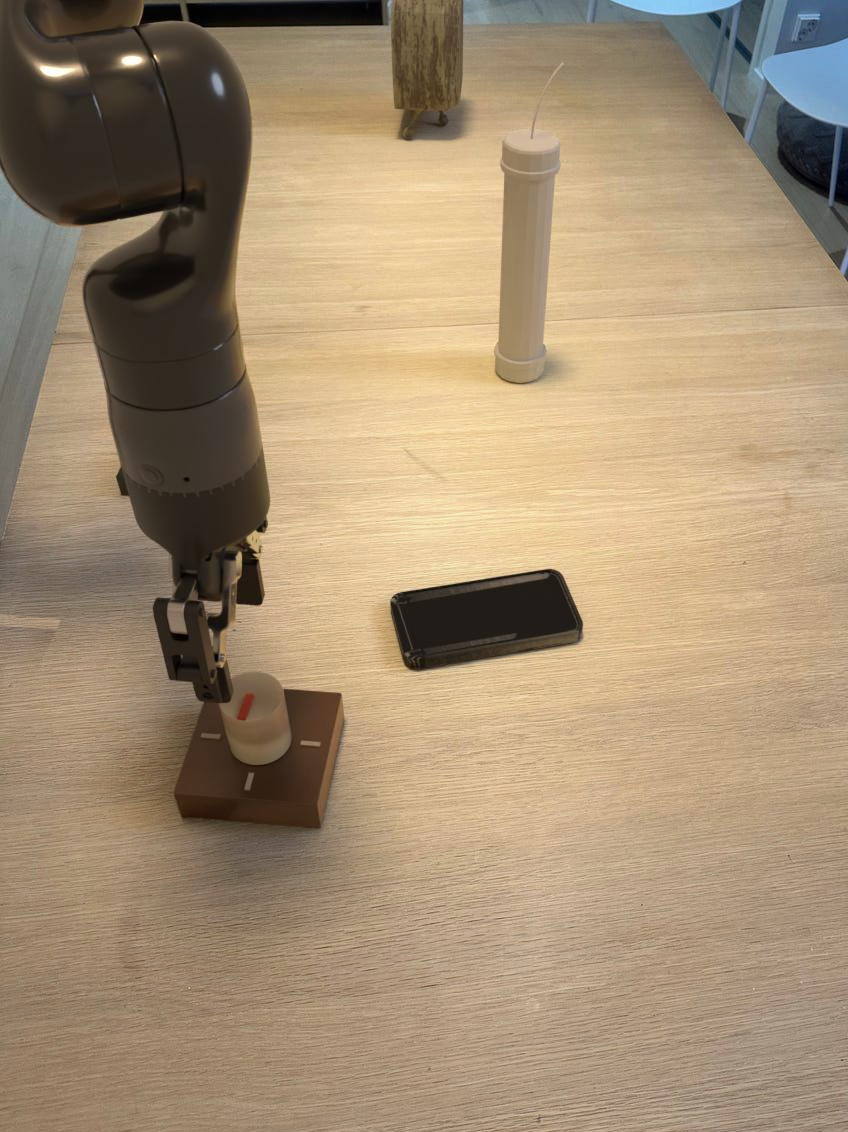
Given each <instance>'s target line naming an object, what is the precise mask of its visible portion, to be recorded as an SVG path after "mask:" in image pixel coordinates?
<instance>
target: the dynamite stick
mask: <svg viewBox="0 0 848 1132" xmlns="http://www.w3.org/2000/svg"><path fill="white" fill-rule="evenodd" d="M564 65H565V62H564V61H561V63H560V64H559V65H558V66H557V67H556V69H555V70H554V72H552V74H551V76H550V77H549V79H548V81H547V82H546V84H545V86H544V88H543V89H542V92H541V95H540V97H539V99H538V102H537V105H536V108H535V112H534V116H533V119H532V124H531V127H530V128H520V129H515V130H512V131H510V132H508V133H506V134H505V136H504V137H503V139H502V145H501V146H502V147H501V158H500V160H499V161H500V162H499V167H500V170H501V171H502V172H503V173H504V174H503V178H504V179H503V199H502V201H503V202H502V204H503V205H502V228H501V229H502V230H501V231H502V232H501V256H500V259H501V260H500V286H499V311H498V312H499V313H498V341H497V342H496V344H495V346H494V347H493V353H494V357H495V358H494V368H495V372H496V374H497V375H498V376H499V377H500V378H501V379H503V380H506V381H507V382H510V383H518V384H522V383H524V384H525V383H530V382H533V381H536V380H538V379H539V378H540V377H541V376H542V375H543V372H544V370H545V362H546V361H545V360H546V357H547V353H548V352H547V348H546V345H545V344H544V337H545V323H546V312H547V311H546V309H547V296H548V281H549V267H550V251H551V239H552V226H553V223H552V222H553V212H554V197H555V196H554V195H555V183H556V182H555V181H556V175H557V174H559V171H560V169H561V160H560V155H561V142H560V139H559V136H557V134H556V135H555V133H553V132H551V131H548V130H544V129H540V128H535V126H536V120H537V116H538V112H539V110H540V106H541V103H542V100H543V98H544V96H545V93H546V91H547V89H548V87H549V85H550V83H551V82H552V81H553V79H554V77H555V76H556V74H557V73H558V72H559V71H560V69H561V68H562V67H563V66H564Z"/></svg>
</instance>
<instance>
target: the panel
mask: <svg viewBox="0 0 848 1132" xmlns="http://www.w3.org/2000/svg"><path fill="white" fill-rule="evenodd" d="M283 691H284V696H285V701H286V707H287V712H288V718H289V723H290V729H291V735H292V740H291V744H290V746H289V748H288V750H287V751H286V753H285V754H284V755H283V756H281V757H280V758H279V759H277V760H275V761H273V762H271V763H268V764H263V765H250V764H246V763H244V762H241V761H240V760H238V759H237V758H236V757H235V756H234V755H233V754H232V752H231V750H230V746H229V742H228V738H227V734H226V731H225V727H224V723H223V719H222V715H221V711H220V707H219V703H212V702H202V706H201V709H200V712H199V715H198V717H197V722H196V724H195V726H194V730H193V733H192V736H191V739H190V741H189V745H188V748H187V751H186V754H185V756H184V760H183V763H182V766H181V769H180V772H179V775H178V778H177V781H176V784H175V787H174V790H173V793H172V794H173V797H174V800H175V802H176V804H177V805H176V806H177V808H178V811H179V814H180V817H181V818H187V817H188V818H189V819H199V818H202V819H201V820H212V819H214V821H224V820H225V821H224V822H226V821H227V822H237V823H249V822H250V824H251V823H252V824H263V825H264V824H265V825H274V824H275V826H287V825H288V826H287V827H299V826H301V828H312V829H313V828H314V829H321V828H322V825H323V820H324V817H325V812H326V808H327V807H326V806H327V802H328V798H329V793H330V788H331V783H332V778H333V775H334V769H335V764H336V760H337V755H338V751H339V746H340V740H341V736H342V732H343V728H344V723H343V722H345V710H344V709H345V708H344V701H343V694H342V692H334V691H333V692H332V691H320V690H308V689H307V690H306V689H295V688H283ZM238 821H240V822H238ZM276 824H277V825H276Z"/></svg>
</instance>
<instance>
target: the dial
mask: <svg viewBox="0 0 848 1132" xmlns="http://www.w3.org/2000/svg"><path fill="white" fill-rule="evenodd" d="M231 681H232V685H233V690H234V692H233V695H232V698H231V701H230V702H229V703H219V707H220V711H221V715H222V719H223V723H224V727H225V731H226V734H227V738H228V742H229V746H230V750H231V752H232V754H233V755H234V756H235V757H236V758H237V759H238V760H240V761H241V762H244V763H246V764H250V765H263V764H268V763H271V762H273V761H275V760H277V759H279V758H280V757H281V756H283V755H284V754H285V753H286V751H287V750H288V748H289V746H290V744H291V740H292V735H291V729H290V723H289V718H288V712H287V707H286V701H285V696H284V691H283V689H284V687H283V685H282V683H281V682H280V681H279V679H277V678H276V677H275V676H273V675H271V674H269V673H267V672H262V671H249V672H248V671H247V672H243V673H240V674H237V675H236V676H234V677H231Z"/></svg>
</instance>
